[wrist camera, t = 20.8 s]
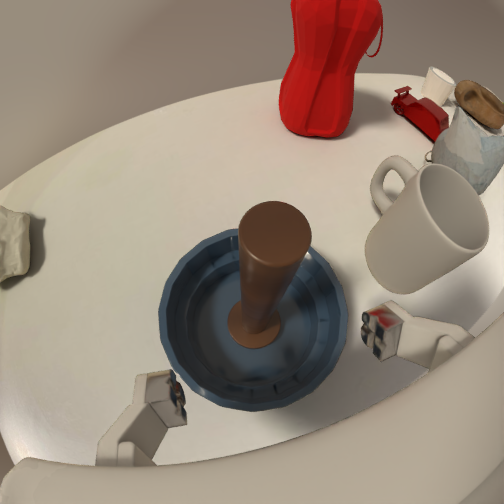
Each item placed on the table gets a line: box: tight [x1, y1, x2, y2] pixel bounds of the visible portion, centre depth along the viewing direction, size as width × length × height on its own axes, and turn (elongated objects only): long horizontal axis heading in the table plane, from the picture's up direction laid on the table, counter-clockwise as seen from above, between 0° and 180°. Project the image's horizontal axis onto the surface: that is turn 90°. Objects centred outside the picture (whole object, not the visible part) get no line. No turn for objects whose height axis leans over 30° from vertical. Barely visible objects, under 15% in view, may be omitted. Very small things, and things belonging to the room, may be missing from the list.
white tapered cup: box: [421, 67, 456, 106], centre depth 39 cm, size 7×7×7 cm
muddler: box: [227, 201, 312, 349], centre depth 15 cm, size 4×4×17 cm
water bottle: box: [279, 0, 383, 138], centre depth 23 cm, size 9×11×25 cm
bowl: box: [454, 80, 504, 129], centre depth 38 cm, size 18×14×10 cm
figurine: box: [425, 107, 504, 195], centre depth 24 cm, size 10×9×15 cm
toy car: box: [391, 86, 449, 142], centre depth 34 cm, size 14×6×5 cm, turn 38°
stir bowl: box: [158, 229, 348, 412], centre depth 21 cm, size 13×13×6 cm
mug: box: [365, 156, 489, 294], centre depth 22 cm, size 12×8×11 cm
